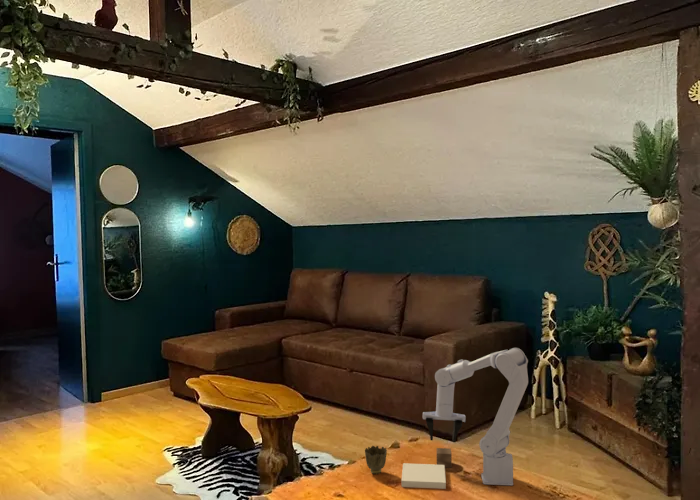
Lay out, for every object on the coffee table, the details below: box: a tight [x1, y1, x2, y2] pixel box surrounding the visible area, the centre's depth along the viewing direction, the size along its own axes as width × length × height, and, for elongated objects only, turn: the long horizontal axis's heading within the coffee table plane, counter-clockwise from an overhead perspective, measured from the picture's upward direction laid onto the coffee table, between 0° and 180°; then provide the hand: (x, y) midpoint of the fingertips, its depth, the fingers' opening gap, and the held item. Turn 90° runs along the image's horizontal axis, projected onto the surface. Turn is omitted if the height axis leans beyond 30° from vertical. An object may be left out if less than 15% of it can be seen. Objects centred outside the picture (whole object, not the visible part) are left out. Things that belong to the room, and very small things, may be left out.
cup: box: [364, 445, 388, 475], centre depth 204 cm, size 8×7×8 cm
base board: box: [400, 462, 447, 490], centre depth 200 cm, size 14×14×2 cm
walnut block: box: [436, 447, 453, 469], centre depth 211 cm, size 5×5×5 cm
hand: (442, 439), depth 210 cm, fingers open, 7 cm apart
